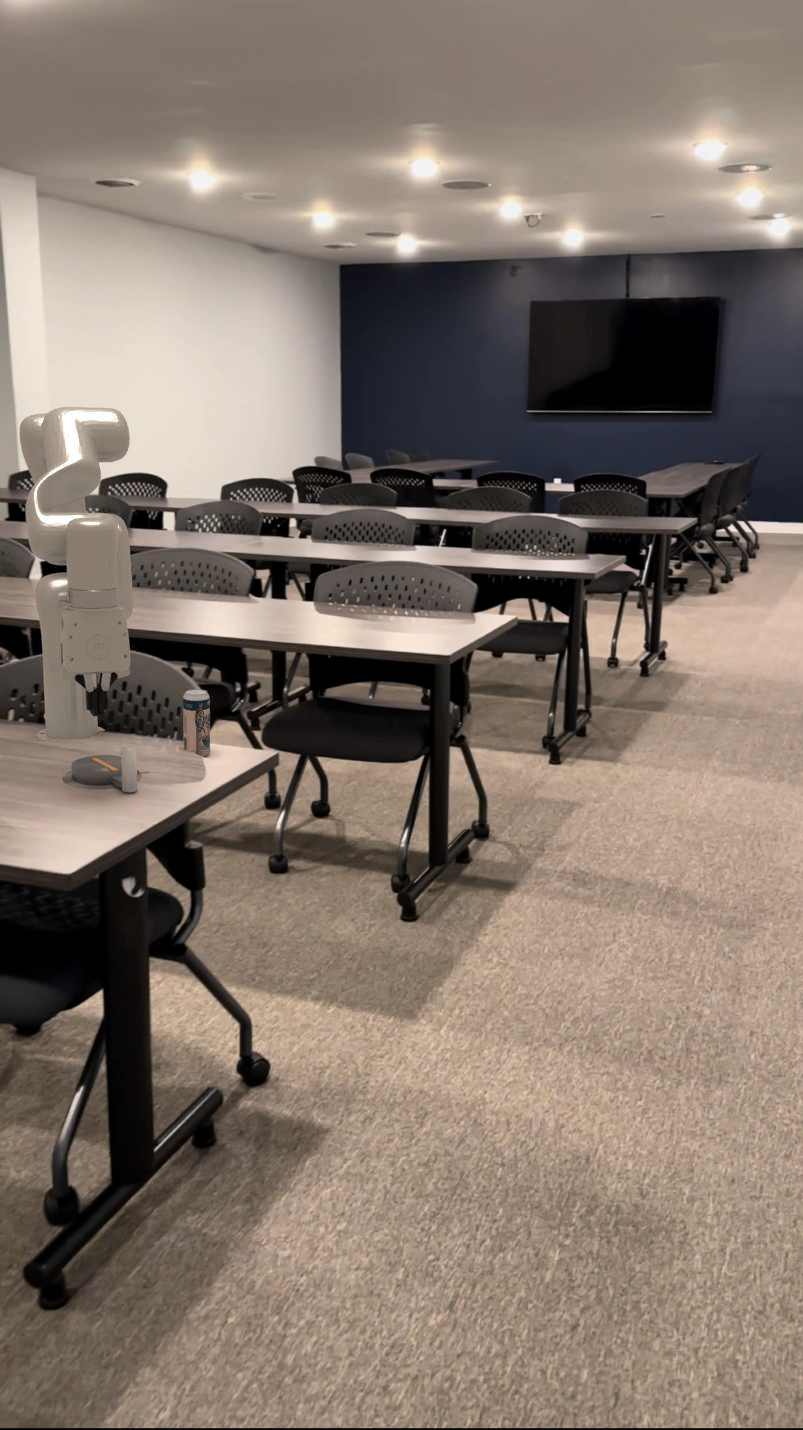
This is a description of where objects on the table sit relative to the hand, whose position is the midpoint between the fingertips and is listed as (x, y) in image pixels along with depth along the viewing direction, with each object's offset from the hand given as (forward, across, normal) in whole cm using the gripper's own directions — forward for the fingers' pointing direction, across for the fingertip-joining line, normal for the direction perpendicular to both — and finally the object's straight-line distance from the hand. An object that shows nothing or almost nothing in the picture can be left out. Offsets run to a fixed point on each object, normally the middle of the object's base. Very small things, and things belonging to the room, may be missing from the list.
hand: (96, 713), depth 192 cm
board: (+15, +4, +10) cm, 18 cm away
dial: (+13, +3, +7) cm, 15 cm away
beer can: (+15, +22, +21) cm, 34 cm away
